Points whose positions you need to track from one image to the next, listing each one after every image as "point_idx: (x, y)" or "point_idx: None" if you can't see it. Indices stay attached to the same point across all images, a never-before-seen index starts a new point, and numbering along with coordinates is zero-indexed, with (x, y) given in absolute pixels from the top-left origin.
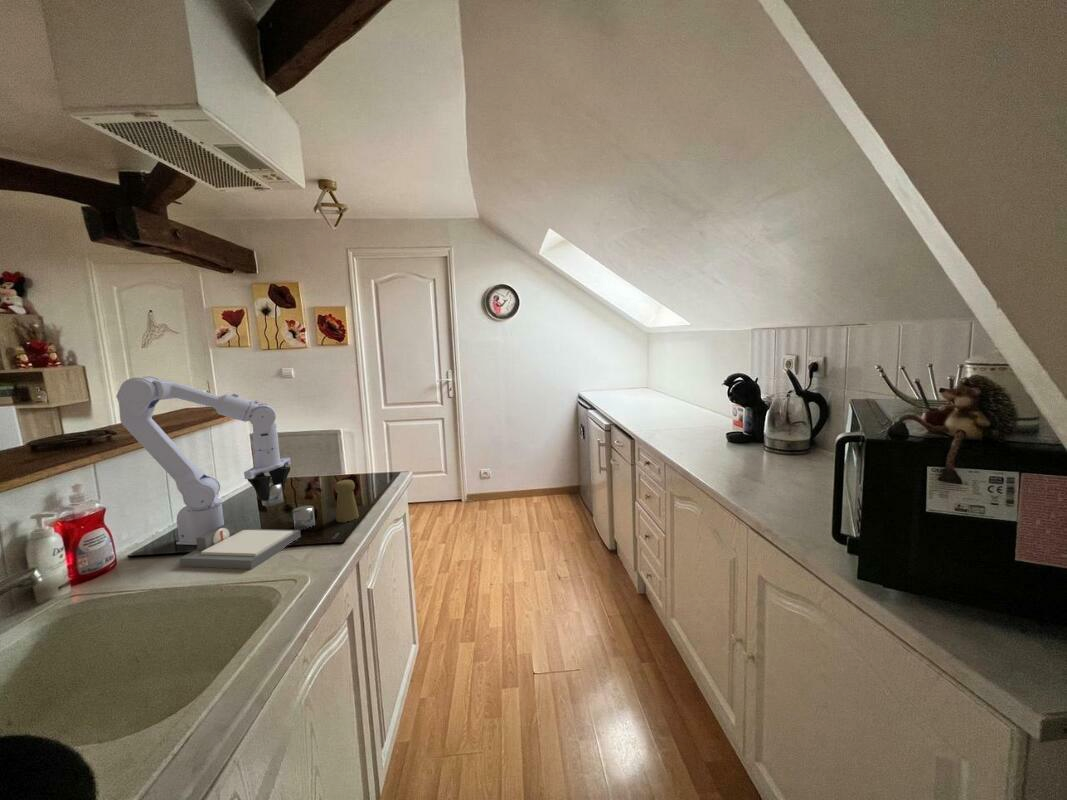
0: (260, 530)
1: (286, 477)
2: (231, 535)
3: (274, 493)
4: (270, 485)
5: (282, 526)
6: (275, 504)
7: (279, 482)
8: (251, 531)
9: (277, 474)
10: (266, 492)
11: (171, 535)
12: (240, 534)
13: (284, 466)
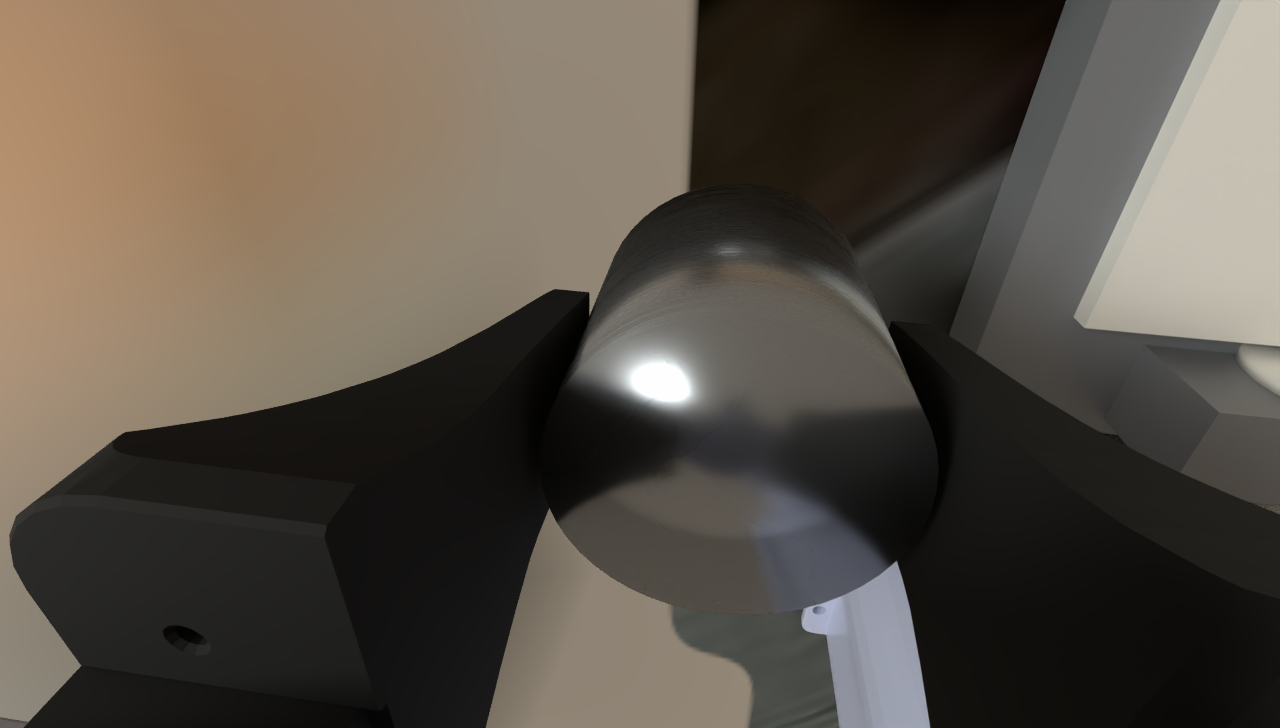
0: (1187, 118)
1: (381, 383)
2: (1196, 357)
3: (854, 294)
4: (759, 483)
5: (759, 113)
6: (828, 220)
7: (547, 425)
8: (1175, 212)
9: (462, 602)
10: (1021, 386)
11: (825, 720)
12: (1234, 277)
13: (105, 696)
